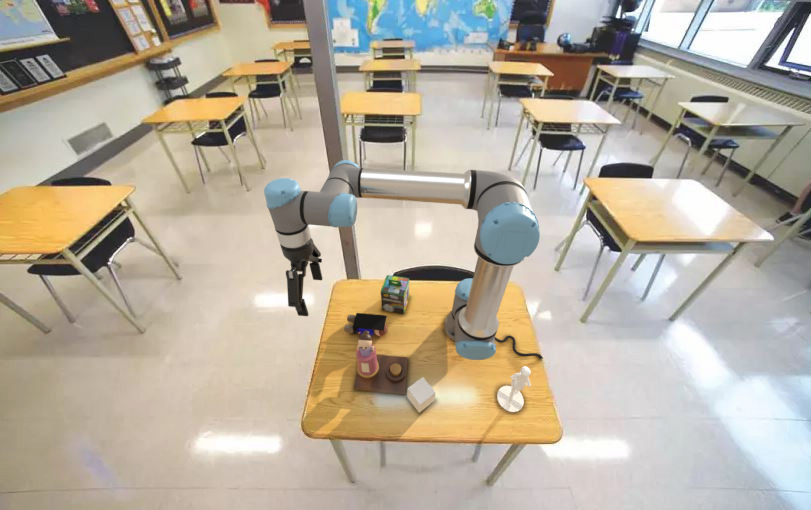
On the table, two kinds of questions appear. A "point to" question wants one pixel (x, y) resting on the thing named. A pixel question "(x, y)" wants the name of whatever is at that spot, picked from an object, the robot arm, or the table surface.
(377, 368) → the doll
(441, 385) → the table surface
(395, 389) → the brown wooden base
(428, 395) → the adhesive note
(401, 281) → the chalk box
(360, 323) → the figurine character
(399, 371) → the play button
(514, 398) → the figurine
